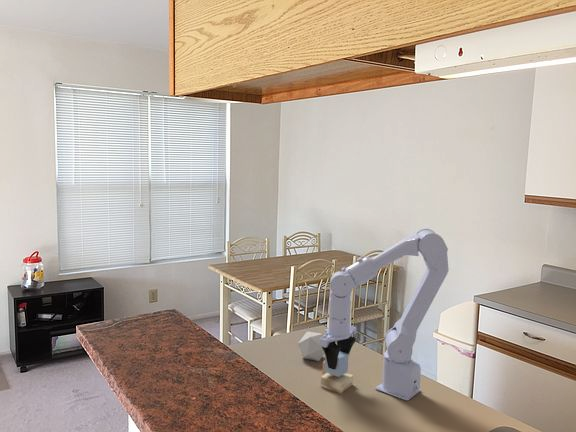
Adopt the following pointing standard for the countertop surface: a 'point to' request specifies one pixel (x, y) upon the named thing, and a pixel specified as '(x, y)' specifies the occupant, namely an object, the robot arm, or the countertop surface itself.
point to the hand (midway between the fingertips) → (337, 365)
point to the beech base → (336, 382)
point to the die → (311, 346)
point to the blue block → (338, 365)
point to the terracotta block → (323, 368)
